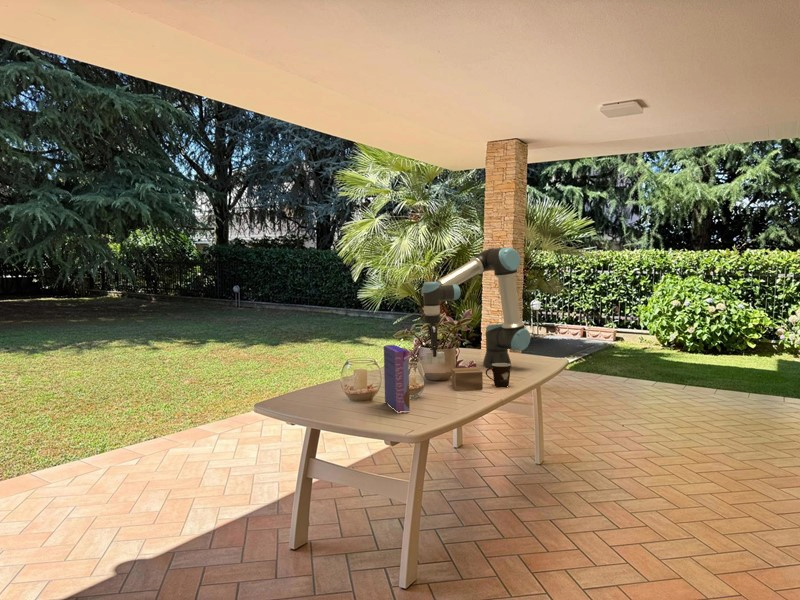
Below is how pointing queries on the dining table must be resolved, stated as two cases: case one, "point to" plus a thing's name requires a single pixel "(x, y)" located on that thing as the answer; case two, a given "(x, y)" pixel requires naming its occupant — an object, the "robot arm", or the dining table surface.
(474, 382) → the walnut block
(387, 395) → the cereal box
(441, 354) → the small box
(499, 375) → the coffee mug
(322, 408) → the dining table surface
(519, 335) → the robot arm
